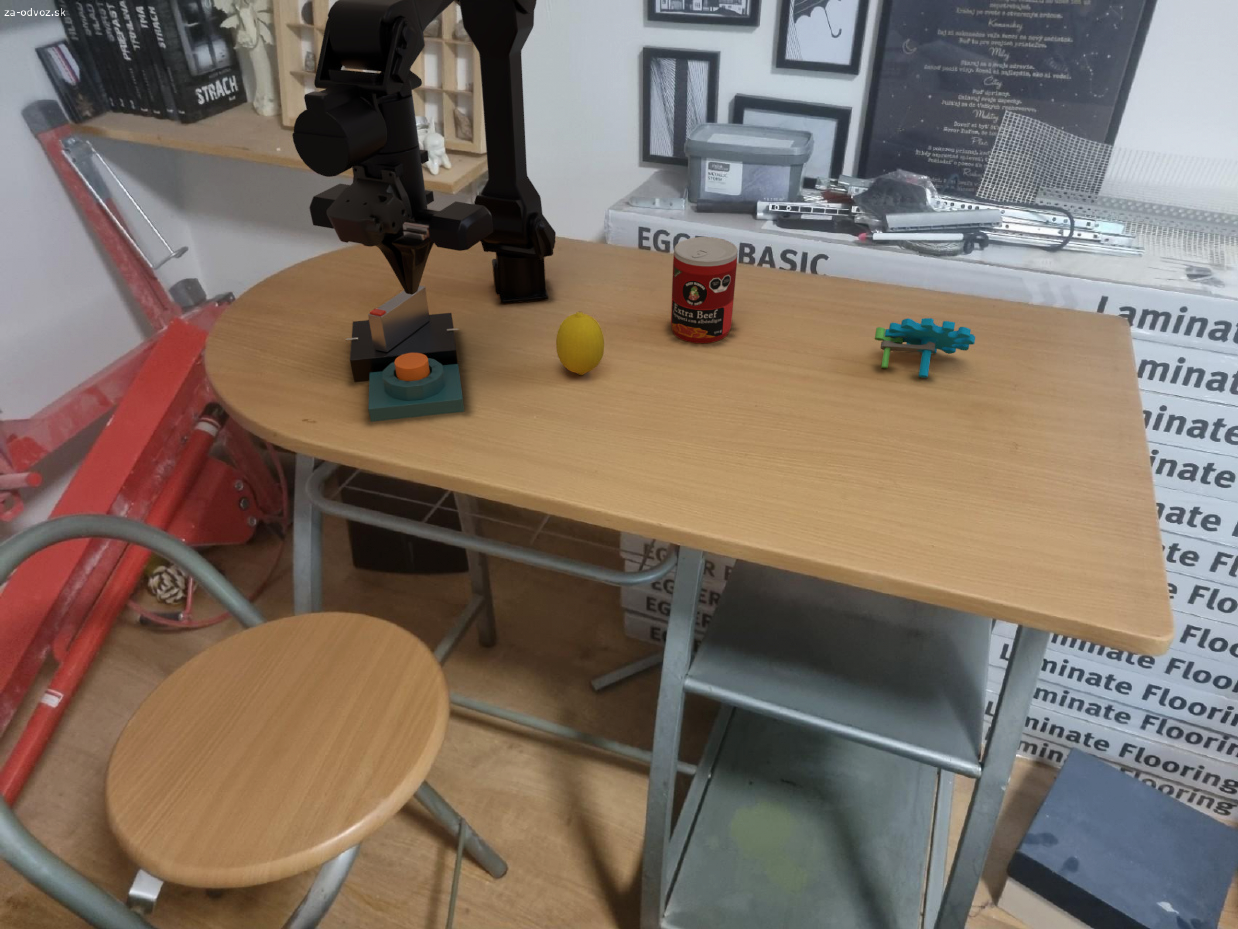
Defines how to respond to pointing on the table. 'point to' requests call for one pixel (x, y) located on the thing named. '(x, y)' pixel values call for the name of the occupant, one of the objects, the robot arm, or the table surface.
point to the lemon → (580, 343)
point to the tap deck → (402, 346)
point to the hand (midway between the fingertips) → (411, 292)
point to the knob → (398, 319)
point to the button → (412, 367)
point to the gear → (923, 340)
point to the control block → (415, 393)
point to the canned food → (703, 289)
